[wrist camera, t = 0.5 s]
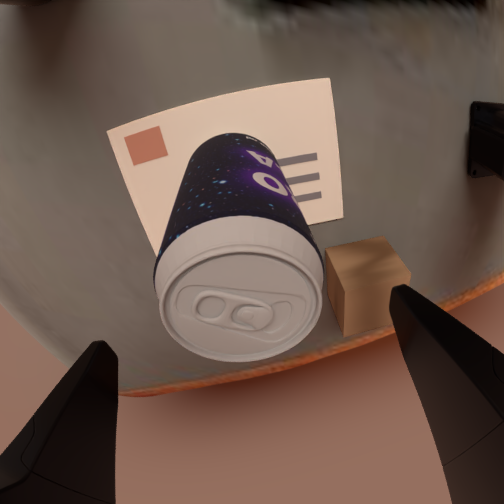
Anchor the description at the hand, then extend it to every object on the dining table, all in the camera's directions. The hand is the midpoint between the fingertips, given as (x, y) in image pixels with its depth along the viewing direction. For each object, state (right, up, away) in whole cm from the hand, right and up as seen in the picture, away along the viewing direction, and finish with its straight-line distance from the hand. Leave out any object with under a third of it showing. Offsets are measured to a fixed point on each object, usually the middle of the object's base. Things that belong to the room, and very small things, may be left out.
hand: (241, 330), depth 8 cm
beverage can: (-1, +7, +10) cm, 13 cm away
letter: (-1, +7, +10) cm, 13 cm away
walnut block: (+9, +1, +16) cm, 18 cm away
